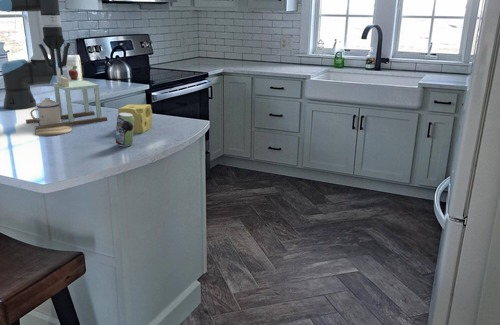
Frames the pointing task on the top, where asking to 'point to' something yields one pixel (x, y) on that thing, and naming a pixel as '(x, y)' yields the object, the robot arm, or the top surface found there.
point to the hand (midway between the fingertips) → (59, 82)
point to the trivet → (53, 131)
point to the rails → (70, 122)
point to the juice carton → (74, 68)
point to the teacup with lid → (48, 112)
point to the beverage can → (124, 129)
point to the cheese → (139, 116)
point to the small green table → (77, 86)
